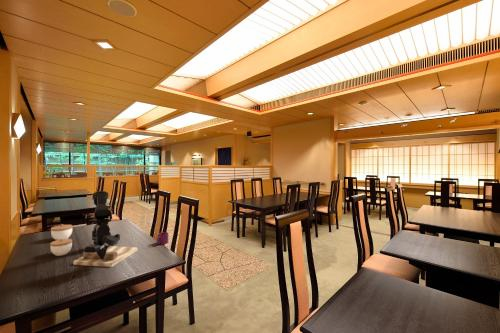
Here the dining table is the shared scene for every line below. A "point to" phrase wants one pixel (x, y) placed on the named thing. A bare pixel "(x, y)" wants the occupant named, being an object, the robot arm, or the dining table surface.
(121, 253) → the stool board
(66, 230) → the lidded bowl
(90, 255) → the stool leg
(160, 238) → the mug
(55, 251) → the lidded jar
